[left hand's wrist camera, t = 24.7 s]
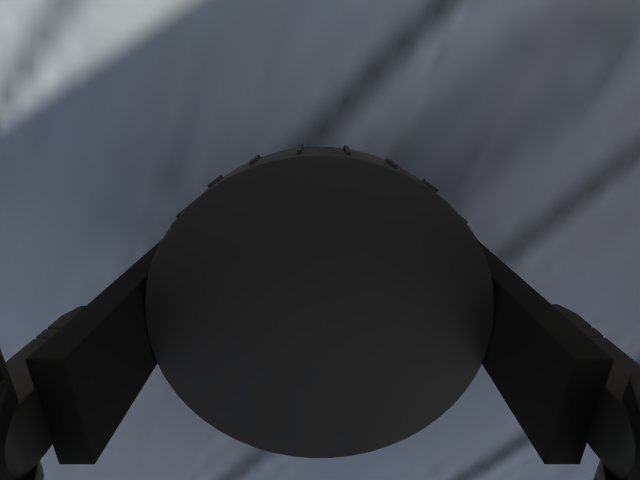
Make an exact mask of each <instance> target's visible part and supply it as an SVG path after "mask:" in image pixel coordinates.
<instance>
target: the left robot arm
mask: <svg viewBox="0 0 640 480" xmlns="http://www.w3.org/2000/svg"><path fill="white" fill-rule="evenodd" d="M161 241H162V240H161ZM161 241H160V242H159V243H158V244H157V245H155V246H154V247H153V248H152V249H151V250H150V251H149V252H147V253H146V254H145V255H144V256H143V257H142V258H141V259H139V260H138V261H137V262H136V263H135V264H134V265H133V266H131V267H130V268H129V269H128V270H127V271H126V272H125V273H123V274H122V275H121V276H120V277H119V278H118V279H117V280H115V281H114V282H113V283H112V284H111V285H110V286H109V287H107V288H106V289H105V290H104V291H103V292H102V293H100V294H99V295H98V296H97V297H96V298H95V299H94V300H92V301H91V302H90V303H89V304H88V305H87V306H80V307H78V308H76V309H74V310H72V311H70V312H68V313H66V314H64V315H62V316H61V317H60V318H59V319H57V320H56V321H55V322H54V323H53V324H51V325H50V326H49V327H48V330H44V331H43V332H42V333H41V334H39V335H38V336H37V338H36V339H33V340H32V341H31V342H30V343H29V344H27V345H26V346H25V347H24V348H22V349H21V350H20V351H19V352H18V353H16V354H15V355H14V356H13V357H12V358H10V359H9V360H8V361H7V362H6V363H5V361H4V358H3V355H2V352H1V349H0V480H43V478H44V474H43V468H42V465H41V462H40V460H41V458H42V457H43V456H44V454H45V453H46V452H47V451H48V449H49V448H50V447H51V445H52V444H53V446H54V449H55V452H56V455H57V458H58V461H59V464H95V463H96V461H97V459H98V458H99V456H100V455H101V453H102V451H103V450H104V448H105V447H106V445H107V443H108V442H109V440H110V439H111V437H112V435H113V434H114V432H115V431H116V429H117V427H118V426H119V424H120V423H121V421H122V419H123V418H124V416H125V414H126V413H127V411H128V410H129V408H130V406H131V405H132V403H133V402H134V400H135V398H136V397H137V395H138V394H139V392H140V390H141V389H142V387H143V386H144V384H145V382H146V381H147V379H148V378H149V376H150V374H151V373H152V371H153V369H154V368H155V366H156V365H157V361H156V359H155V356H154V353H153V350H152V348H151V345H150V342H149V337H148V332H147V327H146V320H145V295H146V285H147V280H148V276H149V272H150V268H151V264H152V261H153V259H154V257H155V254H156V252H157V250H158V248H159V245H160V243H161ZM477 241H478V240H477ZM478 243H479V245H480V247H481V249H482V251H483V253H484V255H485V257H486V260H487V264H488V267H489V270H490V274H491V277H492V283H493V291H494V298H495V304H494V323H493V329H492V335H491V340H490V343H489V346H488V349H487V352H486V355H485V358H484V360H483V362H482V364H483V366H484V368H485V369H486V371H487V372H488V374H489V376H490V377H491V379H492V381H493V382H494V384H495V385H496V387H497V389H498V390H499V392H500V393H501V395H502V397H503V398H504V400H505V401H506V403H507V405H508V406H509V408H510V409H511V411H512V413H513V414H514V416H515V417H516V419H517V421H518V422H519V424H520V425H521V427H522V429H523V430H524V432H525V433H526V435H527V437H528V438H529V440H530V442H531V443H532V445H533V446H534V448H535V450H536V451H537V453H538V454H539V456H540V458H541V459H542V461H543V462H544V464H580V462H581V459H582V455H583V452H584V449H585V446H586V443H588V444H589V446H590V447H591V448H592V450H593V451H594V452H595V453H596V455H597V456H598V457H599V458H600V462H599V465H598V468H597V471H596V474H595V477H594V479H593V480H640V365H638V364H637V363H636V362H635V361H633V360H632V359H631V358H630V357H629V356H627V355H626V354H625V353H624V352H623V351H621V350H620V349H619V348H618V347H616V346H615V345H614V344H613V343H612V342H610V341H609V340H608V339H607V338H603V335H602V334H601V333H599V332H598V331H597V330H596V329H595V328H591V325H590V324H589V323H587V322H586V321H585V320H584V319H582V318H581V317H580V316H579V315H578V314H576V313H574V312H572V311H570V310H568V309H566V308H564V307H562V306H560V305H558V304H550V303H549V302H548V301H547V300H545V299H544V298H543V297H542V296H541V295H540V294H539V293H537V292H536V291H535V290H534V289H533V288H532V287H531V286H529V285H528V284H527V283H526V282H525V281H524V280H523V279H521V278H520V277H519V276H518V275H517V274H516V273H515V272H513V271H512V270H511V269H510V268H509V267H508V266H506V265H505V264H504V263H503V262H502V261H501V260H500V259H498V258H497V257H496V256H495V255H494V254H493V253H492V252H490V251H489V250H488V249H487V248H486V247H485V246H484V245H482V244H481V243H480V242H479V241H478Z"/></svg>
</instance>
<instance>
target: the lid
mask: <svg viewBox="0 0 640 480" xmlns="http://www.w3.org/2000/svg"><path fill="white" fill-rule="evenodd" d="M207 186H208V187H209V189H208V190H206V191H205V192H204V193H203V194H202V195H200V196H199V197H198V198H197V199H196V200H195V201H193V202H192V203H191V204H190V205H189V206H188V207H187V208H185V209H184V210H183V211H181V212H180V213H179V214H178V215H177V216H176V218H177V219H176V220H175V221H174V223H173V224H172V226H171V227H170V229H169V230H168V232H167V233H166V235H165V236H164V238H163V240H162V241H161V243H160V245H159V248H158V250H157V252H156V254H155V257H154V259H153V261H152V264H151V268H150V272H149V276H148V280H147V285H146V295H145V320H146V327H147V332H148V337H149V342H150V345H151V348H152V350H153V353H154V356H155V359H156V361H157V363H158V365H159V367H160V369H161V371H162V373H163V375H164V376H165V378H166V380H167V381H168V382H169V384H170V385H171V387H172V388H173V390H174V391H175V392H176V394H177V395H178V396H179V397H180V398H181V399H182V400H183V401H184V402H185V403H186V405H187V406H188V407H189V408H190V409H192V410H193V411H194V412H195V413H196V414H197V415H198V416H200V417H201V418H202V419H203V420H204V421H206V422H207V423H209V424H210V425H212V426H213V427H215V428H216V429H218V430H219V431H221V432H223V433H225V434H227V435H228V436H230V437H232V438H234V439H236V440H238V441H241V442H243V443H246V444H248V445H250V446H253V447H256V448H259V449H263V450H266V451H269V452H273V453H278V454H283V455H289V456H296V457H307V458H334V457H343V456H352V455H356V454H361V453H366V452H371V451H374V450H377V449H380V448H383V447H387V446H389V445H392V444H394V443H396V442H399V441H401V440H403V439H406V438H408V437H409V436H411V435H413V434H415V433H417V432H418V431H420V430H422V429H424V428H425V427H426V426H428V425H429V424H431V423H432V422H433V421H435V420H436V419H438V418H439V417H440V416H441V415H442V414H443V413H445V412H446V411H447V410H448V409H449V408H450V407H451V406H452V405H453V404H454V403H455V402H456V401H457V400H458V399H459V397H460V396H461V395H462V394H463V393H464V392H465V390H466V389H467V388H468V386H469V385H470V383H471V382H472V380H473V379H474V377H475V376H476V374H477V372H478V370H479V368H480V366H481V364H482V362H483V360H484V358H485V355H486V352H487V349H488V346H489V343H490V340H491V335H492V329H493V323H494V304H495V298H494V291H493V283H492V277H491V274H490V270H489V267H488V264H487V260H486V257H485V255H484V253H483V251H482V249H481V247H480V245H479V243H478V241H477V239H476V237H475V236H474V234H473V233H472V231H471V230H470V228H469V227H468V225H467V221H466V220H465V219H464V218H462V217H461V216H460V215H459V214H458V213H457V212H456V211H455V210H454V209H453V208H452V207H451V206H450V205H449V203H448V202H446V201H445V200H444V199H443V198H441V197H440V196H439V195H438V194H436V192H437V191H438V190H437V189H436V188H435V187H433V186H432V185H431V184H429V183H428V182H427V181H425V180H424V179H423V181H422V182H421V181H420V180H419V179H417V178H416V177H415V176H414V175H412V174H410V173H409V172H407V171H405V170H404V169H402V168H400V167H398V165H397V164H396V163H395V162H393V161H392V160H391V159H389V158H386V160H383V159H381V158H378V157H376V156H373V155H369V154H366V153H362V152H358V151H354V150H350V149H349V147H348V146H344V149H340V148H332V147H305V148H303V145H299V147H298V149H292V150H285V151H281V152H277V153H274V154H270V155H267V156H264V157H260V155H257V156H256V157H254V158H253V159H252V160H251V161H250V162H249V163H247V164H245V165H243V166H241V167H239V168H237V169H236V170H234V171H233V172H231V173H229V174H228V175H226V176H225V177H223V176H222V175H221V176H219V177H218V178H217V179H215V180H214V181H213V182H211V183H210V184H209V185H207Z"/></svg>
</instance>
